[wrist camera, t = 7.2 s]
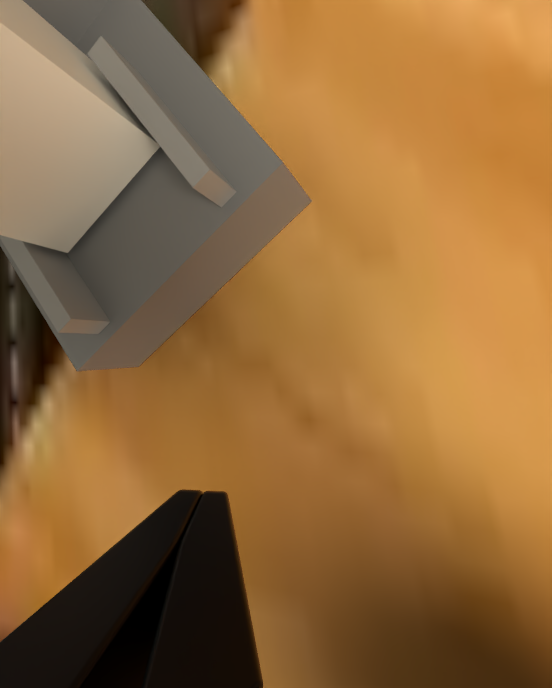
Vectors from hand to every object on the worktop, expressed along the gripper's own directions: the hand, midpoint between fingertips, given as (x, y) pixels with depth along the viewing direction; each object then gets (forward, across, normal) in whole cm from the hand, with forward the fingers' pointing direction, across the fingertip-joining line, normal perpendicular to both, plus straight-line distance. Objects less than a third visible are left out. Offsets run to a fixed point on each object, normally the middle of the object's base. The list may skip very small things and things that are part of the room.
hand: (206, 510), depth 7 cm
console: (+16, +7, -6) cm, 19 cm away
